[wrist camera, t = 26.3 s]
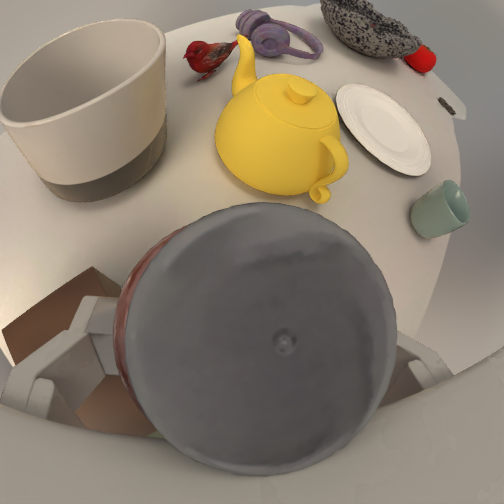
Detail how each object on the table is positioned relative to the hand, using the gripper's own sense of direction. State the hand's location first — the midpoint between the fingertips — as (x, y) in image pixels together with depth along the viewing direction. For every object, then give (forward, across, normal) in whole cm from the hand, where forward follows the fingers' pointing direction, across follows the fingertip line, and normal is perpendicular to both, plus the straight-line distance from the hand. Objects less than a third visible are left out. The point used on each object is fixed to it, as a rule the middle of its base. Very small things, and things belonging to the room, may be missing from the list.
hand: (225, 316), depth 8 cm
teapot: (+35, -10, -2) cm, 36 cm away
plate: (+42, -36, -10) cm, 56 cm away
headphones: (+59, -15, -26) cm, 66 cm away
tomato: (+74, -69, -42) cm, 109 cm away
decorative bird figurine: (+48, 0, -15) cm, 50 cm away
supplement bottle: (+4, 0, +5) cm, 6 cm away
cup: (+27, -38, +6) cm, 47 cm away
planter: (+33, +15, 0) cm, 36 cm away
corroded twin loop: (+60, -76, -28) cm, 100 cm away
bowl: (+70, -41, -37) cm, 89 cm away
